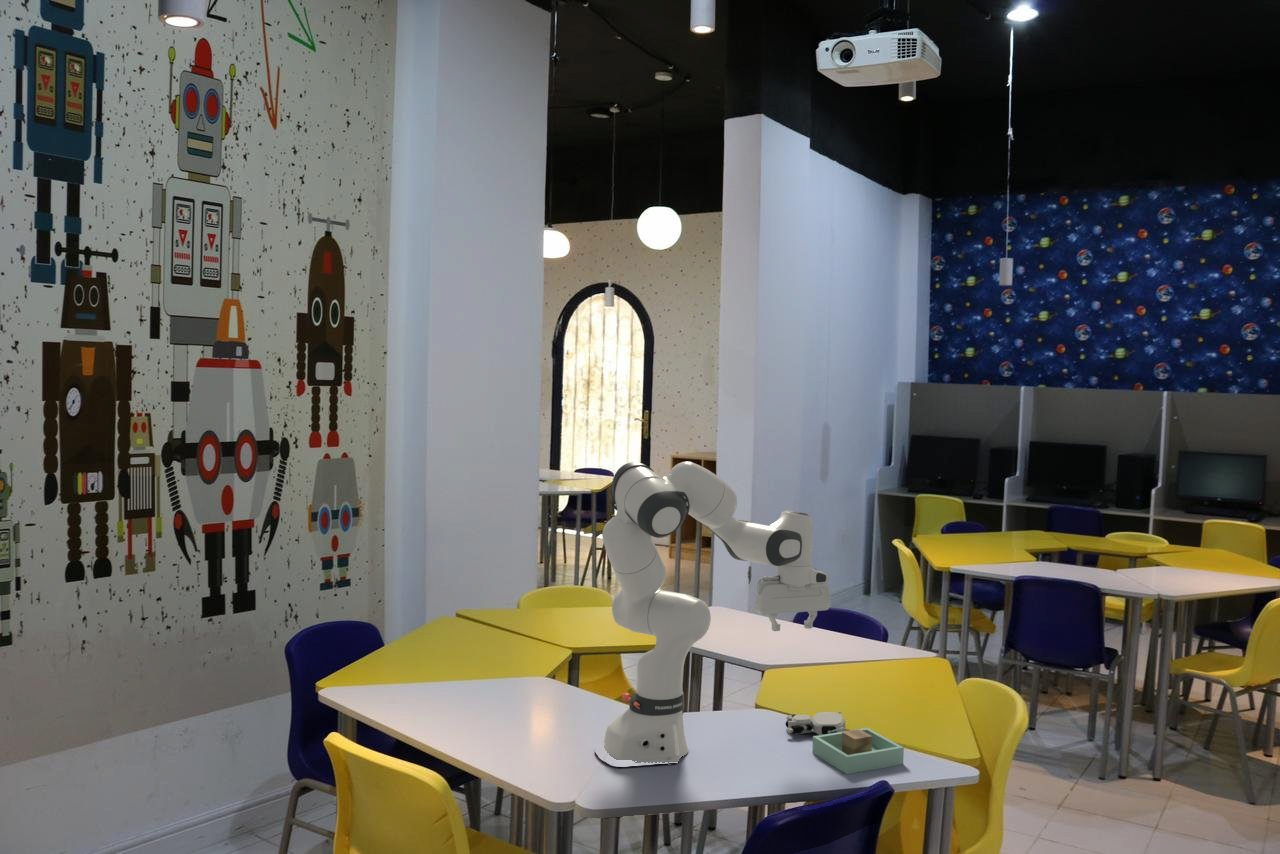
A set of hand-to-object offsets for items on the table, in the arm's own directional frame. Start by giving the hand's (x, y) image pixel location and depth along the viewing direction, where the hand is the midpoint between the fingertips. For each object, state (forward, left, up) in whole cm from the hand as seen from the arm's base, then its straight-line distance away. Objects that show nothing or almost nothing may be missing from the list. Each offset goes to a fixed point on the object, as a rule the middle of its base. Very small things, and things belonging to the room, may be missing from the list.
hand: (792, 629), depth 255 cm
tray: (+7, -19, -27) cm, 34 cm away
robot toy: (+7, -1, -27) cm, 28 cm away
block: (+7, -19, -26) cm, 33 cm away
